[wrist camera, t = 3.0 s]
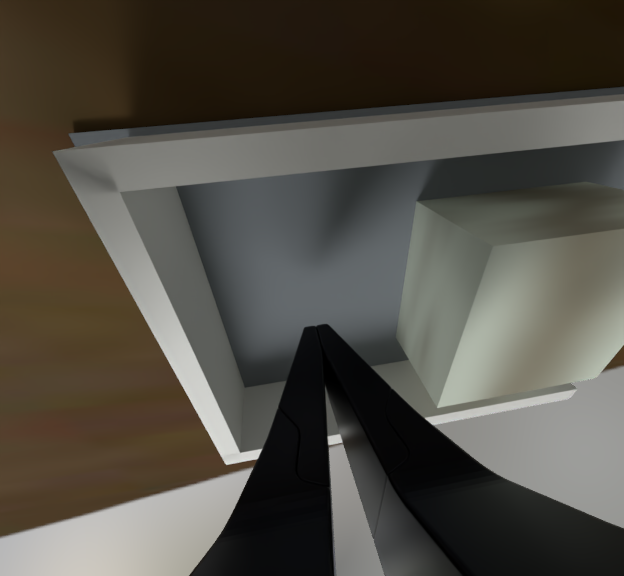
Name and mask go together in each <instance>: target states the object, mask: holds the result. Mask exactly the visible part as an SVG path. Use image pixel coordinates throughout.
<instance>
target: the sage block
mask: <svg viewBox="0 0 624 576" xmlns="http://www.w3.org/2000/svg"><path fill="white" fill-rule="evenodd" d="M396 338H397V340H398V342H399V343H400V345H401V347H402V349H403V350H404V352H405V354H406V356H407V357H408V359H409V361H410V362H411V364H412V366H413V368H414V369H415V371H416V373H417V374H418V376H419V378H420V380H421V381H422V383H423V385H424V386H425V388H426V390H427V392H428V393H429V395H430V397H431V398H432V400H433V402H434V404H435V405H436V407H437V408H440V407H445V406H450V405H456V404H461V403H466V402H472V401H477V400H482V399H488V398H493V397H498V396H504V395H509V394H514V393H520V392H525V391H530V390H536V389H541V388H547V387H552V386H557V385H563V384H568V383H573V382H579V381H584V380H589V379H594V378H596V377H597V376H598V375H599V374H600V373H601V371H602V370H603V369H604V368H605V367H606V365H607V364H608V363H609V362H610V361H611V359H612V358H613V357H614V356H615V355H616V353H617V352H618V351H619V350H620V349H621V348H622V346H623V345H624V190H622V189H618V188H613V187H609V186H604V185H599V184H595V183H590V182H578V183H569V184H561V185H552V186H543V187H535V188H526V189H518V190H509V191H501V192H492V193H483V194H475V195H466V196H458V197H449V198H441V199H432V200H423V201H416V207H415V214H414V221H413V227H412V234H411V240H410V247H409V253H408V260H407V267H406V273H405V280H404V286H403V293H402V300H401V306H400V313H399V319H398V326H397V333H396Z"/></svg>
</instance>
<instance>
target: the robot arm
mask: <svg viewBox="0 0 624 576" xmlns="http://www.w3.org/2000/svg"><path fill="white" fill-rule="evenodd" d="M325 387H326V391H327V394H328V398H329V401H330V404H331V407H332V410H333V413H334V416H335V420H336V423H337V426H338V429H339V432H340V435H341V439H342V442H343V445H344V448H345V451H346V454H347V458H348V461H349V464H350V467H351V470H352V473H353V476H354V479H355V483H356V486H357V489H358V492H359V495H360V499H361V502H362V505H363V508H364V511H365V514H366V518H367V520H368V524H369V527H370V530H371V533H372V537H373V539H374V543H375V546H376V549H377V552H378V556H379V559H380V562H381V565H382V568H383V571H384V575H385V576H624V528H621V527H619V526H616V525H613V524H611V523H608V522H605V521H603V520H601V519H599V518H596V517H594V516H592V515H589V514H587V513H585V512H582V511H580V510H577V509H575V508H573V507H570V506H568V505H566V504H563V503H561V502H558V501H556V500H554V499H551V498H549V497H547V496H544V495H542V494H539V493H537V492H535V491H533V490H530V489H528V488H525V487H523V486H521V485H518V484H516V483H514V482H511V481H509V480H507V479H505V478H503V477H501V476H499V475H497V474H496V473H494V472H492V471H491V470H489V469H488V468H486V467H485V466H483V465H482V464H480V463H479V462H478V461H476V460H475V459H474V458H472V457H471V456H470V455H469V454H468V453H466V452H465V451H464V450H463V449H462V448H460V447H459V446H458V445H457V444H455V443H454V442H453V441H452V440H451V439H449V438H448V437H447V436H445V435H444V434H443V433H442V432H441V431H439V430H438V429H437V428H436V427H435V426H433V425H432V424H431V423H430V422H429V421H427V420H426V419H425V418H424V417H423V416H421V415H420V414H419V413H418V412H417V411H416V410H415V409H413V408H412V407H411V406H410V405H409V404H408V403H407V402H406V401H405V400H404V399H403V398H402V397H401V396H400V395H399V394H398V393H397V392H396V391H395V390H394V389H391V386H390V385H389V384H388V383H387V382H386V381H385V380H384V379H383V378H382V377H381V376H380V375H379V374H378V373H377V372H376V371H375V370H374V369H373V368H372V367H371V366H370V365H369V364H368V363H367V362H366V361H365V360H364V359H363V358H362V357H361V356H360V355H359V354H358V353H357V352H356V351H355V350H354V349H353V348H352V347H351V346H350V345H349V344H348V343H347V342H346V341H345V340H344V339H343V338H342V337H341V336H340V335H339V334H338V333H337V332H336V331H335V330H334V329H333V328H332V327H331V326H330V325H329V324H320V325H317V326H314V325H313V326H306V327H304V329H303V332H302V335H301V338H300V341H299V344H298V347H297V350H296V353H295V356H294V359H293V362H292V365H291V368H290V371H289V374H288V377H287V381H286V384H285V387H284V390H283V393H282V396H281V399H280V402H279V405H278V409H277V411H276V414H275V417H274V420H273V423H272V425H271V428H270V431H269V434H268V436H267V439H266V441H265V443H264V446H263V448H262V450H261V453H260V455H259V457H258V459H257V462H256V464H255V466H254V468H253V470H252V472H251V475H250V477H249V479H248V481H247V483H246V485H245V487H244V489H243V492H242V494H241V496H240V498H239V500H238V502H237V504H236V506H235V509H234V510H233V513H232V514H231V517H230V518H229V520H228V522H227V524H226V526H225V527H224V529H223V531H222V532H221V534H220V535H219V537H218V538H217V540H216V541H215V543H214V544H213V545H212V547H211V548H210V549H209V551H208V552H207V553H206V555H205V556H204V557H203V558H202V560H201V561H200V562H199V564H198V565H197V566H196V567H195V569H194V570H193V572H192V573H191V574H190V575H189V576H336V563H335V547H334V529H333V513H332V497H331V496H332V495H331V478H330V461H329V444H328V427H327V410H326V394H325Z"/></svg>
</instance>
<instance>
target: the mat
mask: <svg viewBox="0 0 624 576" xmlns="http://www.w3.org/2000/svg"><path fill="white" fill-rule="evenodd" d="M619 94H624V87H616V88H604V89H592V90H580V91H568V92H556V93H544V94H532V95H521V96H509V97H497V98H485V99H473V100H461V101H449V102H437V103H425V104H413V105H402V106H390V107H378V108H366V109H354V110H342V111H330V112H318V113H306V114H295V115H283V116H271V117H259V118H247V119H235V120H223V121H211V122H199V123H188V124H176V125H164V126H152V127H140V128H128V129H116V130H104V131H92V132H80V133H70V134H69V136H70V138H71V140H72V142H73V144H74V145H75V147H79V146H84V145H89V144H94V143H100V142H105V141H110V140H116V139H121V138H126V137H135V136H146V135H158V134H169V133H181V132H193V131H204V130H216V129H227V128H239V127H250V126H262V125H273V124H285V123H296V122H308V121H319V120H331V119H342V118H354V117H366V116H377V115H389V114H400V113H412V112H423V111H435V110H446V109H458V108H469V107H481V106H492V105H504V104H515V103H527V102H539V101H550V100H562V99H573V98H585V97H596V96H608V95H619ZM578 182H590V183H595V184H599V185H604V186H609V187H613V188H618V189H622V190H624V140H619V141H609V142H600V143H590V144H580V145H571V146H561V147H551V148H542V149H532V150H522V151H513V152H503V153H493V154H484V155H474V156H464V157H454V158H445V159H435V160H425V161H416V162H406V163H396V164H387V165H377V166H367V167H358V168H348V169H338V170H329V171H319V172H309V173H300V174H290V175H280V176H270V177H261V178H251V179H241V180H232V181H222V182H212V183H203V184H193V185H183V186H176V188H177V191H178V194H179V197H180V200H181V203H182V206H183V209H184V211H185V214H186V217H187V220H188V223H189V226H190V229H191V232H192V235H193V238H194V241H195V244H196V247H197V249H198V252H199V255H200V258H201V261H202V264H203V267H204V270H205V273H206V276H207V279H208V282H209V285H210V287H211V290H212V293H213V296H214V299H215V302H216V305H217V308H218V311H219V314H220V317H221V320H222V323H223V325H224V328H225V331H226V334H227V337H228V340H229V343H230V346H231V349H232V352H233V355H234V358H235V361H236V363H237V366H238V369H239V372H240V375H241V378H242V381H243V384H244V387H245V388H246V387H252V386H258V385H264V384H270V383H276V382H281V381H287V377H288V374H289V371H290V368H291V365H292V362H293V359H294V356H295V353H296V350H297V347H298V344H299V341H300V338H301V335H302V332H303V329H304V327H306V326H313V325H314V326H317V325H320V324H329V325H330V326H331V327H332V328H333V329H334V330H335V331H336V332H337V333H338V334H339V335H340V336H341V337H342V338H343V339H344V340H345V341H346V342H347V343H348V344H349V345H350V346H351V347H352V348H353V349H354V350H355V351H356V352H357V353H358V354H359V355H360V356H361V357H362V358H363V359H364V360H365V361H366V362H367V363H368V364H369V365H370V366H376V365H382V364H388V363H394V362H400V361H405V360H409V359H408V357H407V356H406V354H405V352H404V350H403V349H402V347H401V345H400V343H399V342H398V340H397V338H396V333H397V326H398V319H399V313H400V306H401V300H402V293H403V286H404V280H405V273H406V267H407V260H408V253H409V247H410V240H411V234H412V227H413V221H414V214H415V207H416V201H423V200H432V199H441V198H449V197H458V196H466V195H475V194H483V193H492V192H501V191H509V190H518V189H526V188H535V187H543V186H552V185H561V184H569V183H578Z"/></svg>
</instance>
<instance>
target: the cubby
mask: <svg viewBox="0 0 624 576" xmlns="http://www.w3.org/2000/svg"><path fill="white" fill-rule="evenodd" d="M619 140H624V94H619V95H608V96H596V97H585V98H573V99H562V100H550V101H539V102H527V103H515V104H504V105H492V106H481V107H469V108H458V109H446V110H435V111H423V112H412V113H400V114H389V115H377V116H366V117H354V118H342V119H331V120H319V121H308V122H296V123H285V124H273V125H262V126H250V127H239V128H227V129H216V130H204V131H193V132H181V133H169V134H158V135H146V136H135V137H126V138H121V139H116V140H110V141H105V142H100V143H94V144H89V145H84V146H79V147H73V148H68V149H63V150H57V151H52V152H53V154H54V155H55V157H56V159H57V161H58V163H59V164H60V166H61V168H62V170H63V172H64V173H65V175H66V177H67V179H68V181H69V183H70V184H71V186H72V188H73V190H74V192H75V193H76V195H77V197H78V199H79V201H80V202H81V204H82V206H83V208H84V210H85V211H86V213H87V215H88V217H89V219H90V220H91V222H92V224H93V226H94V228H95V229H96V231H97V233H98V235H99V237H100V238H101V240H102V242H103V244H104V246H105V247H106V249H107V251H108V253H109V255H110V256H111V258H112V260H113V262H114V264H115V265H116V267H117V269H118V271H119V273H120V275H121V276H122V278H123V280H124V282H125V284H126V285H127V287H128V289H129V291H130V293H131V294H132V296H133V298H134V300H135V302H136V303H137V305H138V307H139V309H140V311H141V312H142V314H143V316H144V318H145V320H146V321H147V323H148V325H149V327H150V329H151V330H152V332H153V334H154V336H155V338H156V339H157V341H158V343H159V345H160V347H161V348H162V350H163V352H164V354H165V356H166V357H167V359H168V361H169V363H170V365H171V367H172V368H173V370H174V372H175V374H176V376H177V377H178V379H179V381H180V383H181V385H182V386H183V388H184V390H185V392H186V394H187V395H188V397H189V399H190V401H191V403H192V404H193V406H194V408H195V410H196V412H197V413H198V415H199V417H200V419H201V421H202V422H203V424H204V426H205V428H206V430H207V431H208V433H209V435H210V437H211V439H212V440H213V442H214V444H215V446H216V448H217V449H218V451H219V453H220V455H221V457H222V459H223V460H224V462H225V464H226V465H228V464H234V463H239V462H244V461H249V460H254V459H258V457H259V455H260V453H261V450H262V448H263V446H264V443H265V441H266V439H267V436H268V434H269V431H270V428H271V425H272V423H273V420H274V417H275V414H276V411H277V409H278V405H279V402H280V399H281V396H282V393H283V390H284V387H285V384H286V381H281V382H276V383H270V384H264V385H258V386H252V387H246V388H245V387H244V384H243V381H242V378H241V375H240V372H239V369H238V366H237V363H236V361H235V358H234V355H233V352H232V349H231V346H230V343H229V340H228V337H227V334H226V331H225V328H224V325H223V323H222V320H221V317H220V314H219V311H218V308H217V305H216V302H215V299H214V296H213V293H212V290H211V287H210V285H209V282H208V279H207V276H206V273H205V270H204V267H203V264H202V261H201V258H200V255H199V252H198V249H197V247H196V244H195V241H194V238H193V235H192V232H191V229H190V226H189V223H188V220H187V217H186V214H185V211H184V209H183V206H182V203H181V200H180V197H179V194H178V191H177V188H176V186H183V185H193V184H203V183H212V182H222V181H232V180H241V179H251V178H261V177H270V176H280V175H290V174H300V173H309V172H319V171H329V170H338V169H348V168H358V167H367V166H377V165H387V164H396V163H406V162H416V161H425V160H435V159H445V158H454V157H464V156H474V155H484V154H493V153H503V152H513V151H522V150H532V149H542V148H551V147H561V146H571V145H580V144H590V143H600V142H609V141H619ZM371 367H372V368H373V369H374V370H375V371H376V372H377V373H378V374H379V375H380V376H381V377H382V378H383V379H384V380H385V381H386V382H387V383H388V384H389V385H390V386H391V389H394V390H395V391H396V392H397V393H398V394H399V395H400V396H401V397H402V398H403V399H404V400H405V401H406V402H407V403H408V404H409V405H410V406H411V407H412V408H413V409H415V410H416V411H417V412H418V413H419V414H420V415H421V416H423V417H424V418H425V419H426V420H427V421H429V422H430V423H431V424H432V425H436V424H441V423H446V422H452V421H456V420H462V419H467V418H472V417H477V416H483V415H488V414H493V413H498V412H503V411H509V410H514V409H519V408H524V407H529V406H535V405H540V404H545V403H550V402H555V401H560V400H566V399H570V398H571V396H572V395H573V394H574V393H575V391H576V390H577V388H576V387H575V386H573V385H572V384H571V383H568V384H563V385H557V386H552V387H547V388H541V389H536V390H530V391H525V392H520V393H514V394H509V395H504V396H498V397H493V398H488V399H482V400H477V401H472V402H466V403H461V404H456V405H450V406H445V407H440V408H437V407H436V405H435V404H434V402H433V400H432V398H431V397H430V395H429V393H428V392H427V390H426V388H425V386H424V385H423V383H422V381H421V380H420V378H419V376H418V374H417V373H416V371H415V369H414V368H413V366H412V364H411V362H410V361H409V360H405V361H400V362H394V363H388V364H382V365H376V366H371ZM325 394H326V410H327V427H328V444H329V445H332V444H337V443H343V442H342V439H341V435H340V432H339V429H338V426H337V423H336V420H335V416H334V413H333V410H332V407H331V404H330V401H329V398H328V394H327V391H326V387H325Z"/></svg>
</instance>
